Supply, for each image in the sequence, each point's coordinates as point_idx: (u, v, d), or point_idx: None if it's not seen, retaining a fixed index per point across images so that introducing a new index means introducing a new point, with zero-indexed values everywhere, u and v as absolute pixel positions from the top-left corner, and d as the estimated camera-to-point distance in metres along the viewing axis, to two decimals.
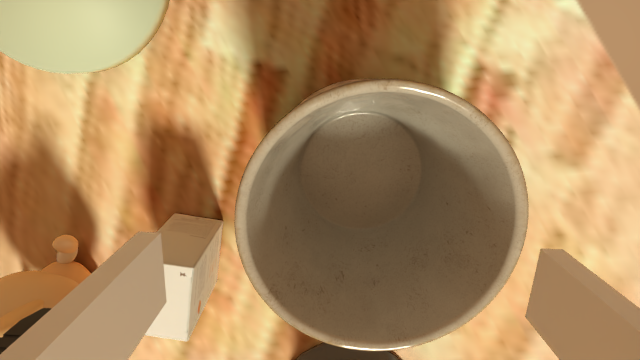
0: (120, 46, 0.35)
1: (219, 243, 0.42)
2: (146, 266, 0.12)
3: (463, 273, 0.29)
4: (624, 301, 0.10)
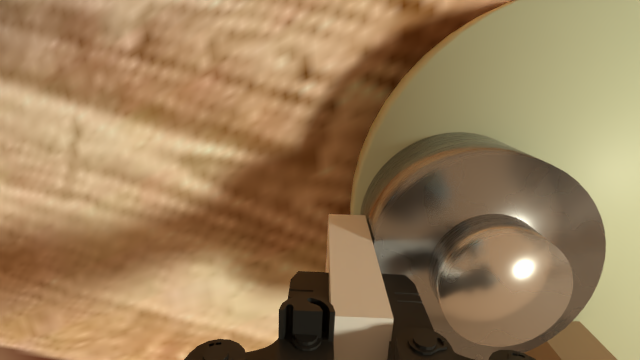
0: None
1: None
2: None
3: None
4: (369, 249, 0.12)
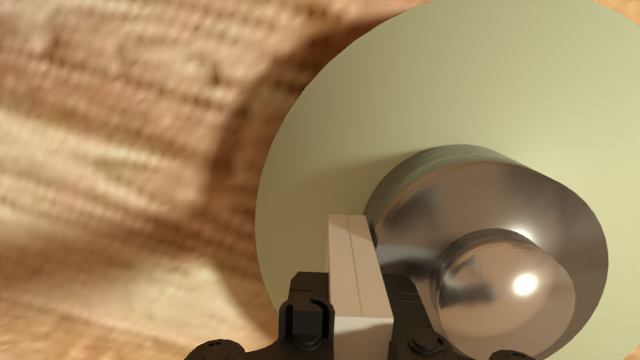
0: None
1: None
2: None
3: None
4: (369, 249, 0.12)
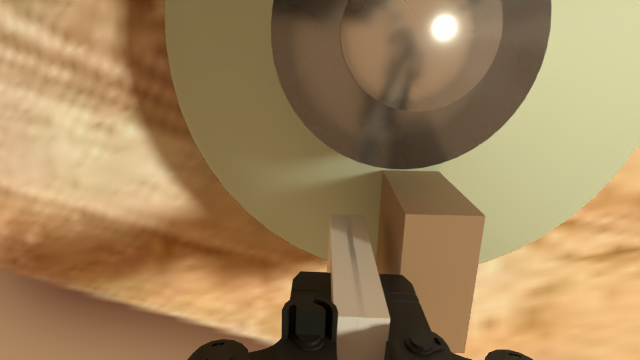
0: None
1: None
2: None
3: None
4: (366, 249, 0.12)
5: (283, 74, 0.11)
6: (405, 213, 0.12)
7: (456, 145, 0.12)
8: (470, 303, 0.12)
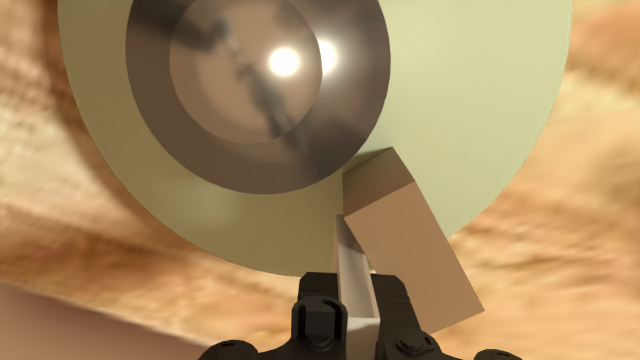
0: None
1: None
2: None
3: None
4: (359, 249, 0.12)
5: (182, 158, 0.12)
6: (344, 216, 0.12)
7: (358, 131, 0.12)
8: (458, 263, 0.12)
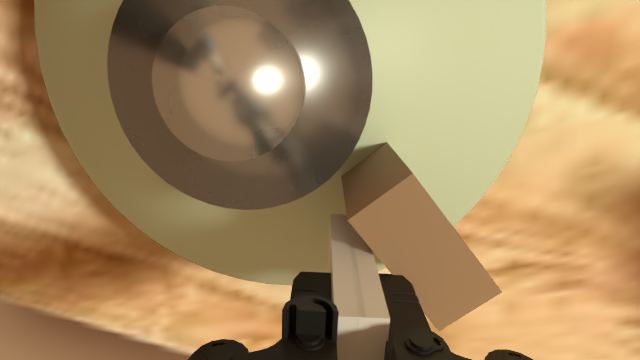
0: None
1: None
2: None
3: None
4: (366, 249, 0.12)
5: (180, 185, 0.12)
6: (348, 219, 0.12)
7: (349, 132, 0.12)
8: (467, 248, 0.12)
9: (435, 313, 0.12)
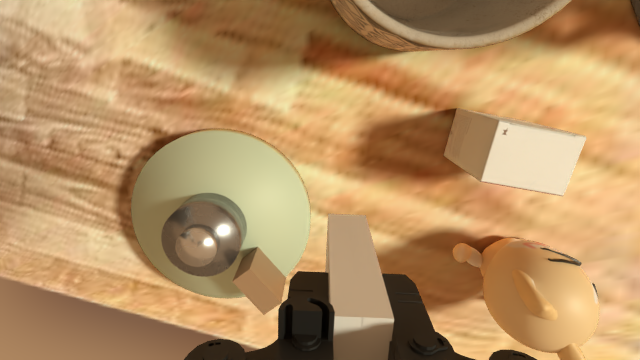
0: (238, 142, 0.40)
1: None
2: None
3: None
4: (369, 249, 0.12)
5: (182, 269, 0.40)
6: (232, 281, 0.39)
7: (233, 254, 0.40)
8: (268, 289, 0.39)
9: (261, 309, 0.40)
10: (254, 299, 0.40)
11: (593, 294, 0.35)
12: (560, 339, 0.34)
